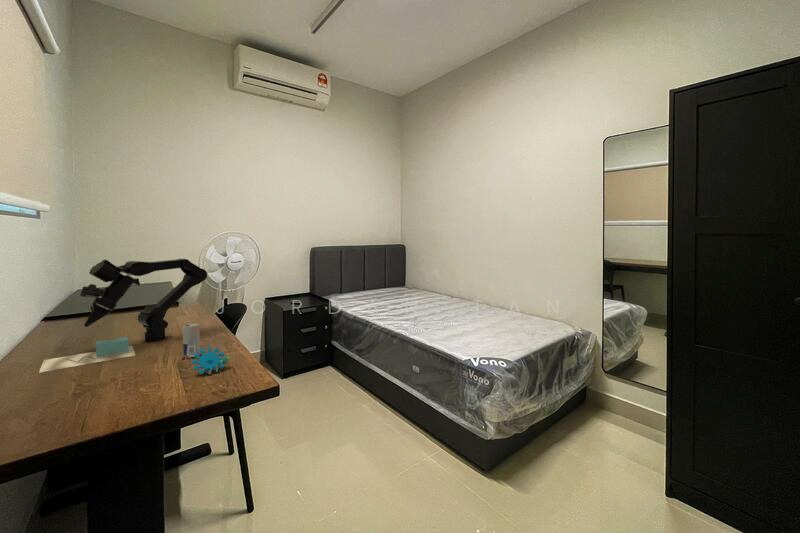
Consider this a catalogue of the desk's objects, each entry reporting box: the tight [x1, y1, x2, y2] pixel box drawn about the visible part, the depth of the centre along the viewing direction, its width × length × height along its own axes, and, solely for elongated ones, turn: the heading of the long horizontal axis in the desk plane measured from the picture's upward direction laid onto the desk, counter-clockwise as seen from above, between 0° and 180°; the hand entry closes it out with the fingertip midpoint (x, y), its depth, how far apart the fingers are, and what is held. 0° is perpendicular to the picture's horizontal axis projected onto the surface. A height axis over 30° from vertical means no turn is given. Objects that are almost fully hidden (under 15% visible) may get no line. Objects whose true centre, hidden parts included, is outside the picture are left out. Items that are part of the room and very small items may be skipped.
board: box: [38, 345, 136, 373], centre depth 118 cm, size 24×14×1 cm, turn 133°
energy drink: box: [182, 322, 201, 359], centre depth 124 cm, size 5×5×12 cm
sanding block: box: [95, 336, 130, 358], centre depth 122 cm, size 9×5×5 cm, turn 133°
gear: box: [191, 346, 231, 375], centre depth 112 cm, size 11×6×10 cm
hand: (85, 325), depth 118 cm, fingers open, 9 cm apart
